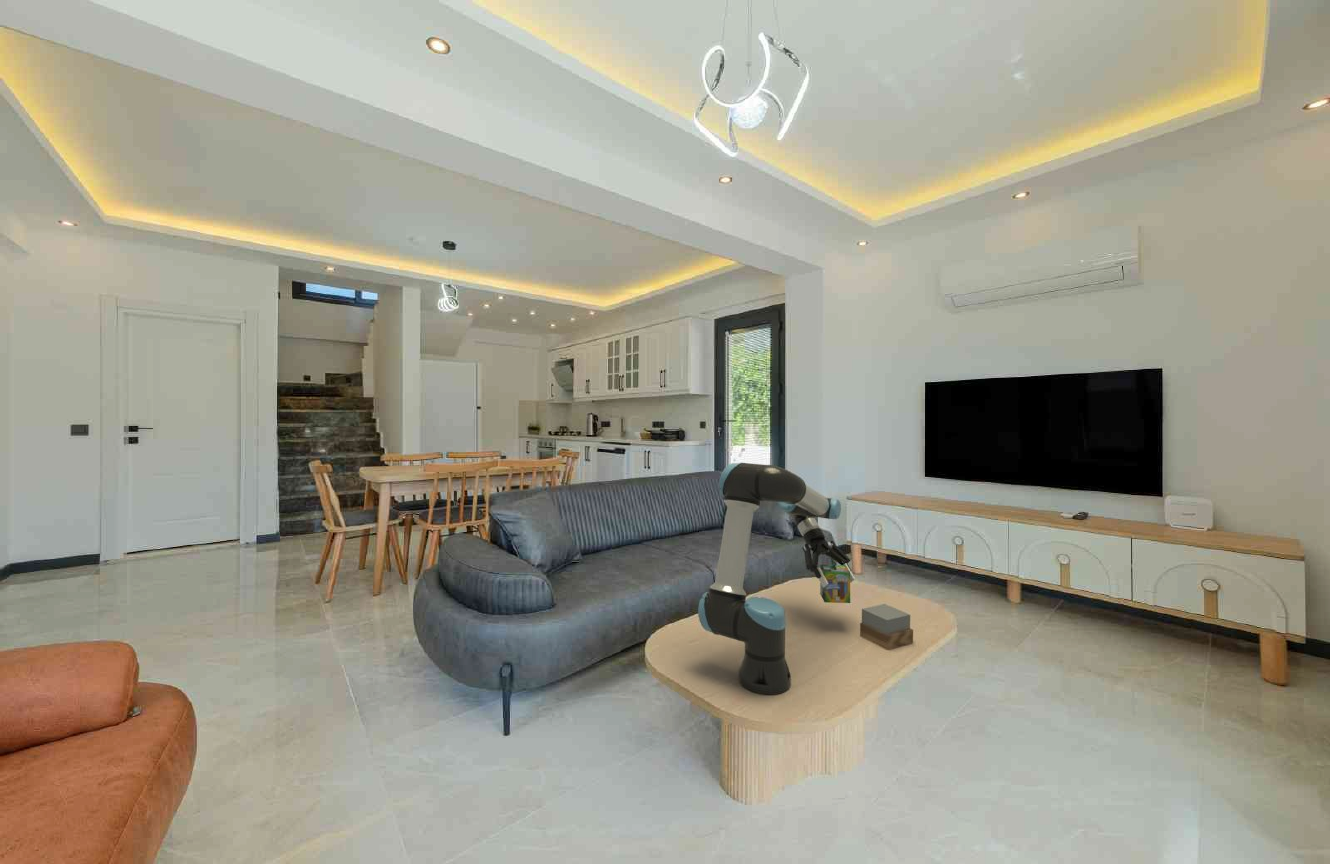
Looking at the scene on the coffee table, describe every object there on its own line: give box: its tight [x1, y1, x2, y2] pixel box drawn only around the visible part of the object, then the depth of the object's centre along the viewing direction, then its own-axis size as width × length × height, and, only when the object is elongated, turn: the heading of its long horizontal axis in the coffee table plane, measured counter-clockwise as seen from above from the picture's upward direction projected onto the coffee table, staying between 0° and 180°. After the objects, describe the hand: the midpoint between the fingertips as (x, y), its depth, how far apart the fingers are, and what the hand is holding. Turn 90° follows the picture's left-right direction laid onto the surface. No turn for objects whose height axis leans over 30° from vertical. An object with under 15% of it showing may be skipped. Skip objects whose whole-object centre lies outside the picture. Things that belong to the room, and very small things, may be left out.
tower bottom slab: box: [859, 622, 914, 651], centre depth 181 cm, size 12×12×5 cm
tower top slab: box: [861, 603, 911, 635], centre depth 182 cm, size 11×11×5 cm
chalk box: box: [819, 557, 851, 604], centre depth 191 cm, size 9×9×15 cm
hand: (839, 583), depth 188 cm, fingers closed on chalk box, 12 cm apart
